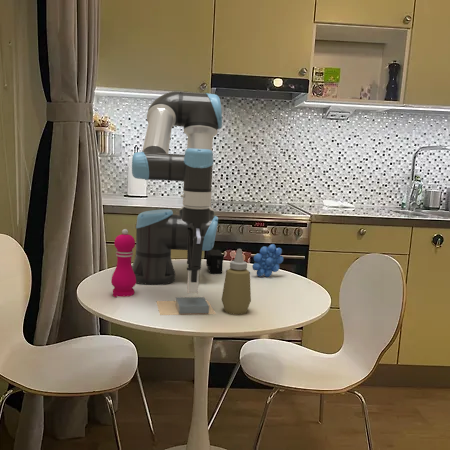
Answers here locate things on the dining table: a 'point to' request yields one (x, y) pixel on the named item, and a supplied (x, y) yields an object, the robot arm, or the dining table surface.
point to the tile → (192, 305)
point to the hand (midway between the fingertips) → (192, 292)
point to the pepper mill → (124, 266)
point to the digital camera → (214, 261)
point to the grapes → (267, 260)
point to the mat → (174, 308)
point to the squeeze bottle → (237, 286)
